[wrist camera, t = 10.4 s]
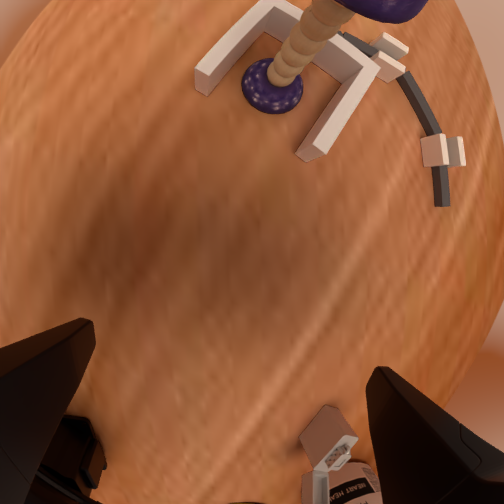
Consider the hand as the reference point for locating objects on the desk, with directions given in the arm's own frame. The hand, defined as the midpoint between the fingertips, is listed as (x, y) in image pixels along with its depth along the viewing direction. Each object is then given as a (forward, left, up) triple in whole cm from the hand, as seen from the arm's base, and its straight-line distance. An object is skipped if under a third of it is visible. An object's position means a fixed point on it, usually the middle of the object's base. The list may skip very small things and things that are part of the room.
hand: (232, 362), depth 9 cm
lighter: (+7, -15, -12) cm, 21 cm away
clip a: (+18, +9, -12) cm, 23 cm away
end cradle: (+4, +13, -12) cm, 18 cm away
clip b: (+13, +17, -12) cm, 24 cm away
